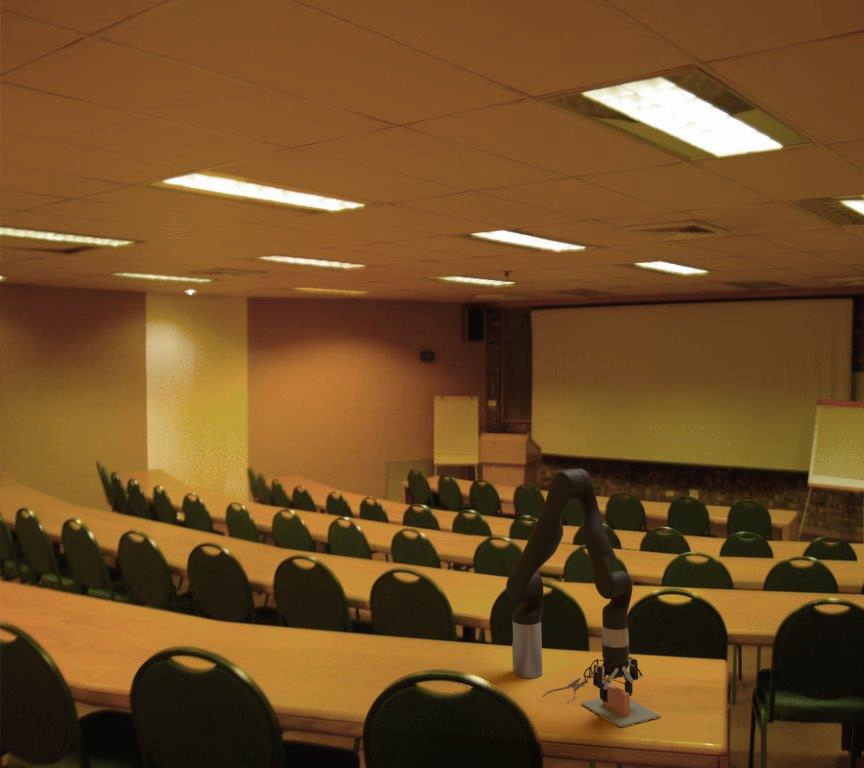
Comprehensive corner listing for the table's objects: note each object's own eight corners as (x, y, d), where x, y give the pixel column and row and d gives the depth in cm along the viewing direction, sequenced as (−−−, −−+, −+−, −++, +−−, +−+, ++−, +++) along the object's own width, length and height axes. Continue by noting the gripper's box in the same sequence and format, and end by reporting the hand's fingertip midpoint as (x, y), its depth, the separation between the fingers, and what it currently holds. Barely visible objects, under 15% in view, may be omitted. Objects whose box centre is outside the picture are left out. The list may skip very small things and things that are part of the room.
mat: (581, 704, 237) (581, 702, 237) (619, 695, 243) (619, 693, 243) (620, 728, 221) (620, 726, 221) (660, 717, 227) (660, 715, 227)
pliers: (539, 697, 242) (559, 675, 260) (540, 700, 242) (559, 677, 260) (571, 702, 238) (589, 679, 256) (571, 705, 238) (589, 681, 256)
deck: (602, 703, 236) (602, 683, 236) (607, 702, 237) (607, 682, 237) (624, 716, 227) (624, 694, 227) (629, 714, 228) (629, 693, 228)
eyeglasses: (596, 669, 267) (596, 657, 266) (644, 676, 259) (644, 663, 259) (581, 686, 252) (581, 673, 252) (632, 694, 245) (631, 681, 245)
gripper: (626, 634, 238) (627, 689, 238) (587, 642, 232) (588, 698, 232) (643, 641, 231) (644, 698, 231) (603, 649, 225) (604, 707, 225)
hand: (616, 698), depth 232 cm, fingers open, 8 cm apart
